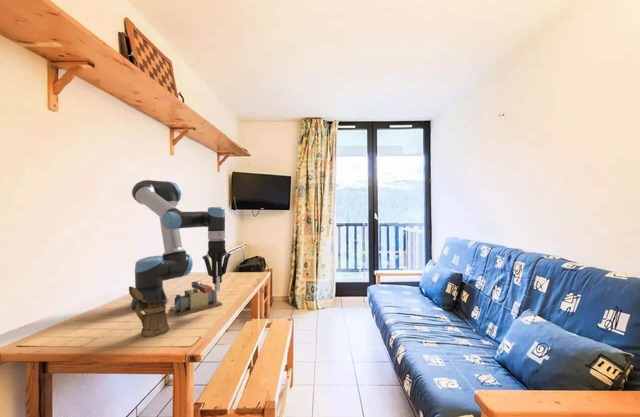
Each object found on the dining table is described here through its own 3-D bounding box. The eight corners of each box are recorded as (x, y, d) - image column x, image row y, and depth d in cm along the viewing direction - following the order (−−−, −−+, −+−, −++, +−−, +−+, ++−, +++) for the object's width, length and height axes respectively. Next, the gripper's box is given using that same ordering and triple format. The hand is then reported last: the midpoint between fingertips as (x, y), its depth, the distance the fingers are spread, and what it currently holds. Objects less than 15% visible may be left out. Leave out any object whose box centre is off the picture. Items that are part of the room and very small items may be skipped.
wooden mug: (134, 329, 109) (134, 283, 109) (172, 325, 111) (171, 281, 112) (123, 339, 100) (123, 289, 100) (164, 335, 103) (164, 286, 103)
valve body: (169, 309, 130) (169, 288, 130) (211, 299, 144) (211, 280, 144) (178, 316, 121) (177, 293, 121) (222, 305, 135) (221, 284, 135)
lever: (190, 286, 133) (190, 282, 133) (198, 285, 135) (198, 280, 135) (203, 293, 121) (203, 288, 121) (212, 291, 123) (212, 286, 123)
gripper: (205, 241, 122) (206, 295, 122) (233, 239, 131) (234, 288, 131) (199, 240, 128) (200, 291, 128) (226, 238, 137) (226, 286, 137)
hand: (217, 290), depth 129 cm, fingers closed
